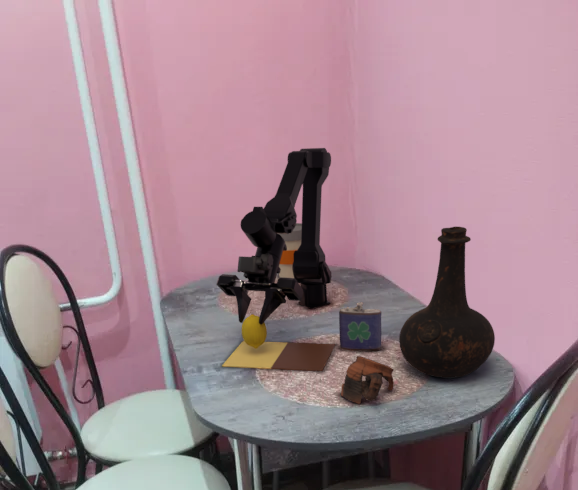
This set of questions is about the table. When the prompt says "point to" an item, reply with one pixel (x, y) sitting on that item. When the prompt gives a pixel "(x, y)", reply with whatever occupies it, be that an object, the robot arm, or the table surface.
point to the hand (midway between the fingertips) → (250, 322)
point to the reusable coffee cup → (290, 251)
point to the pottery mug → (373, 380)
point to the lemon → (253, 331)
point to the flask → (360, 329)
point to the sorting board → (281, 356)
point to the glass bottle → (448, 320)
